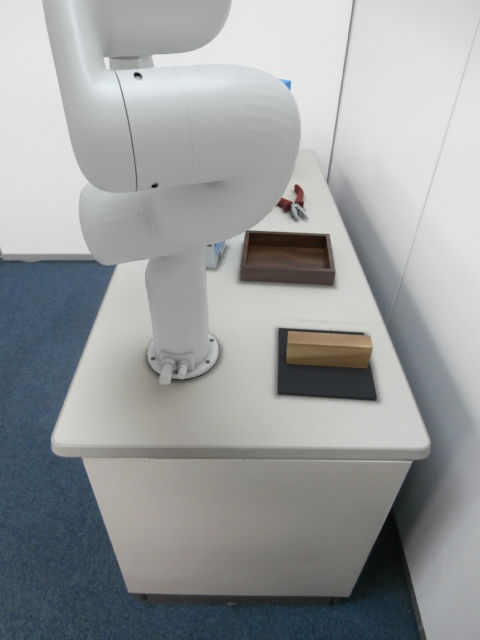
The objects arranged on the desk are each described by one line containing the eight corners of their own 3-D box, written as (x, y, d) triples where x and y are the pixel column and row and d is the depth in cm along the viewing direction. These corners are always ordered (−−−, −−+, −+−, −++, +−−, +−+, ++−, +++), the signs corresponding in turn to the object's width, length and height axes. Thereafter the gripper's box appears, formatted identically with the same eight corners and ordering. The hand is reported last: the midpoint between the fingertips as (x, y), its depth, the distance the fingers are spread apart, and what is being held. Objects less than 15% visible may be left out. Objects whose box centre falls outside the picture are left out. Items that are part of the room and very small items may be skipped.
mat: (376, 400, 73) (377, 398, 73) (277, 394, 74) (278, 391, 74) (363, 334, 86) (363, 332, 85) (278, 330, 86) (278, 327, 86)
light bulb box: (215, 270, 102) (214, 227, 95) (187, 266, 103) (183, 223, 96) (226, 246, 110) (225, 204, 103) (199, 243, 111) (197, 202, 104)
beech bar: (367, 368, 78) (373, 347, 75) (286, 363, 79) (288, 342, 75) (365, 356, 80) (370, 335, 77) (286, 351, 81) (288, 330, 78)
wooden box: (332, 287, 97) (335, 271, 95) (240, 282, 98) (240, 267, 96) (327, 248, 109) (329, 233, 107) (245, 244, 110) (245, 230, 108)
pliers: (282, 226, 117) (282, 217, 116) (261, 194, 132) (261, 185, 131) (323, 222, 120) (324, 213, 118) (298, 190, 135) (299, 182, 133)
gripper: (138, 54, 59) (153, 180, 70) (165, 33, 72) (174, 142, 83) (82, 53, 60) (106, 178, 71) (119, 32, 73) (134, 141, 84)
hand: (143, 158), depth 77 cm, fingers open, 9 cm apart
